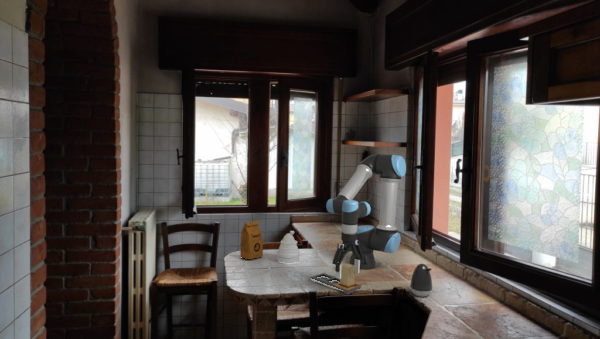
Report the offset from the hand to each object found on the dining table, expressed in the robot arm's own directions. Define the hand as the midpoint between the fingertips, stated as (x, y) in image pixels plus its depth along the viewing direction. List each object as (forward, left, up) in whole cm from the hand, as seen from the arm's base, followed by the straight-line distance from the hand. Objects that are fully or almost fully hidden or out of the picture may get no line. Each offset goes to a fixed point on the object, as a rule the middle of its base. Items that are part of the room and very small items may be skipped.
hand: (347, 275), depth 226 cm
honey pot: (-9, -53, -7) cm, 55 cm away
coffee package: (+4, -71, -7) cm, 72 cm away
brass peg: (0, 0, -7) cm, 7 cm away
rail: (0, -8, -7) cm, 11 cm away
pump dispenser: (-22, +28, -7) cm, 36 cm away
